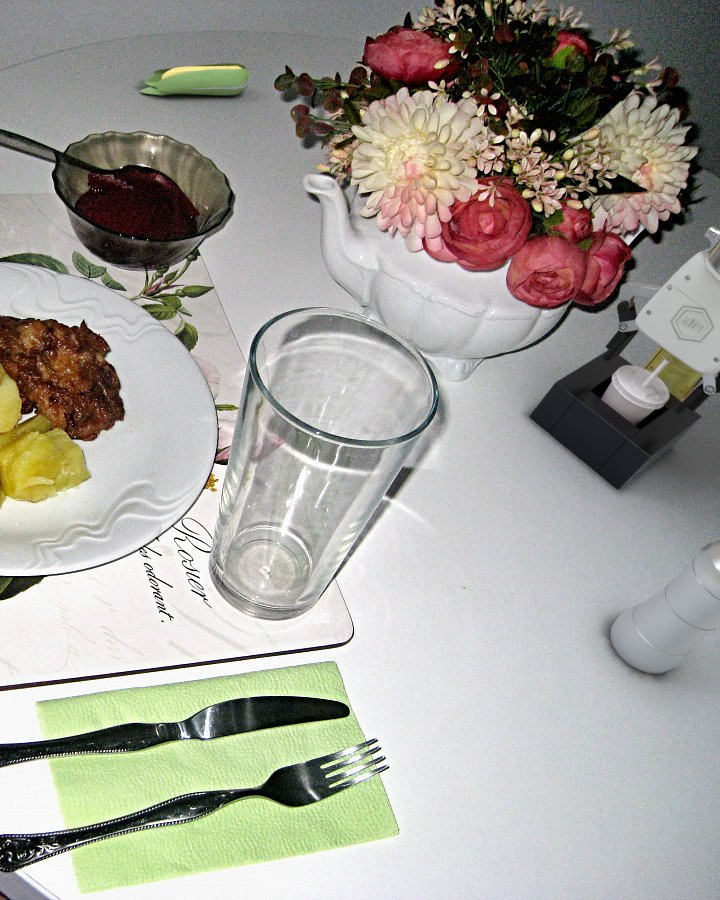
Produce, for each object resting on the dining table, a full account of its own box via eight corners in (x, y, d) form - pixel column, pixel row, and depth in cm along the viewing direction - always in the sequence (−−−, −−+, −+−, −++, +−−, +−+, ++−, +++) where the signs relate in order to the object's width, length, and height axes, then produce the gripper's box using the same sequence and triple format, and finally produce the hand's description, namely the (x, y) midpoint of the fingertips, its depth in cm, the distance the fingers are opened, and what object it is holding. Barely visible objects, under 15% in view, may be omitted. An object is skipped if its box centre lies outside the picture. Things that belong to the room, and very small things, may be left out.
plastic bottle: (598, 614, 92) (733, 496, 77) (662, 636, 92) (810, 523, 77) (603, 667, 88) (747, 553, 73) (670, 691, 88) (828, 582, 73)
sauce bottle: (670, 427, 115) (784, 309, 100) (623, 410, 115) (730, 290, 101) (666, 395, 119) (774, 277, 105) (620, 378, 120) (722, 259, 105)
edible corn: (251, 99, 152) (259, 73, 148) (145, 102, 144) (151, 75, 141) (237, 83, 155) (245, 58, 151) (133, 86, 147) (138, 59, 144)
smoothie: (569, 445, 109) (641, 363, 98) (569, 412, 113) (638, 329, 103) (621, 465, 108) (698, 384, 98) (619, 430, 112) (692, 350, 102)
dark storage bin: (664, 454, 111) (702, 416, 106) (613, 495, 105) (650, 456, 99) (578, 387, 117) (610, 348, 112) (524, 421, 110) (555, 382, 105)
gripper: (658, 224, 92) (567, 346, 105) (816, 327, 85) (696, 444, 98) (691, 208, 96) (599, 327, 109) (845, 304, 89) (726, 420, 101)
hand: (645, 382), depth 103 cm, fingers open, 9 cm apart
